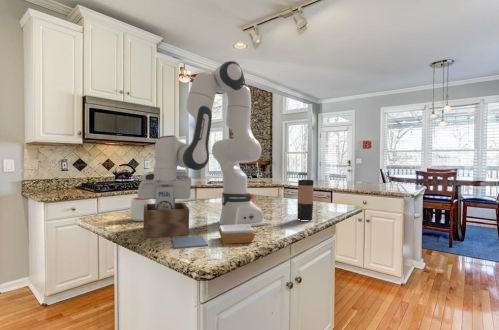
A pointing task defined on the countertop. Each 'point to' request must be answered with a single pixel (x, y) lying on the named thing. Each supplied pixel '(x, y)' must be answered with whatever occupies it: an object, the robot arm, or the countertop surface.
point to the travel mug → (305, 199)
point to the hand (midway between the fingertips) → (164, 210)
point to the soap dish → (236, 233)
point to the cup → (139, 208)
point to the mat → (189, 242)
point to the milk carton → (164, 197)
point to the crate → (165, 221)
